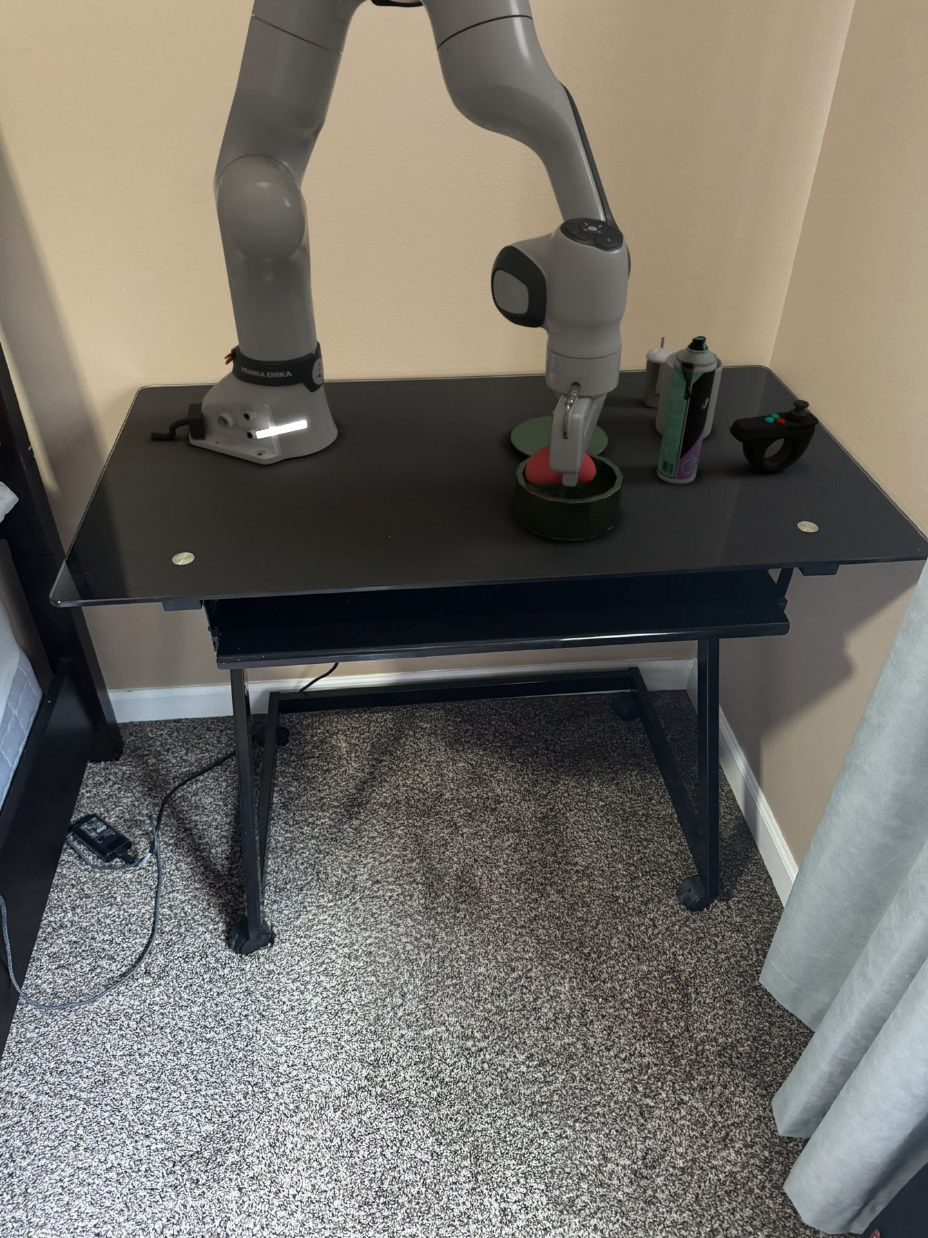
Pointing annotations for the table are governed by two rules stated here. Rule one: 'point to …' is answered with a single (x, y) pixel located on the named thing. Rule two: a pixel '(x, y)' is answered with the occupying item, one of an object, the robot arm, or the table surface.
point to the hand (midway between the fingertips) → (575, 470)
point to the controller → (776, 436)
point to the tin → (570, 504)
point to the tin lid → (548, 437)
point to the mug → (666, 388)
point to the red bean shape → (543, 475)
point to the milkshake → (655, 374)
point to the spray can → (686, 412)
